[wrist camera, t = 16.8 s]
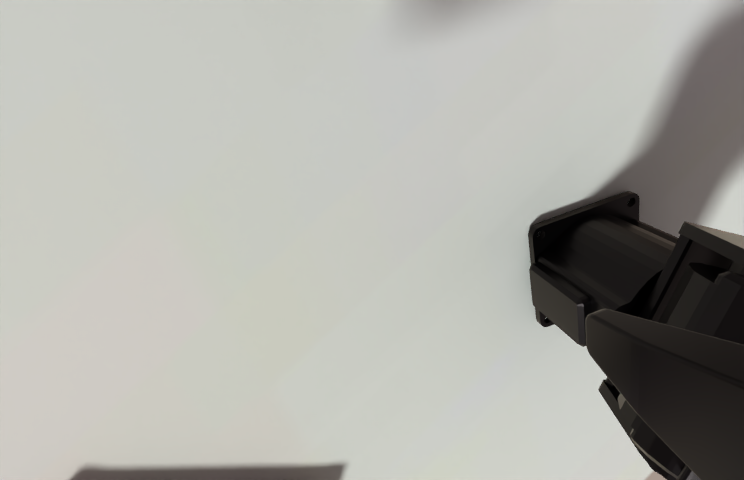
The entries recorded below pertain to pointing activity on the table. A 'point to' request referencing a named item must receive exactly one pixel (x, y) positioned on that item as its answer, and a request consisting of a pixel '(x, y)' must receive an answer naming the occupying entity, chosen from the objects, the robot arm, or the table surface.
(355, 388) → the table surface
